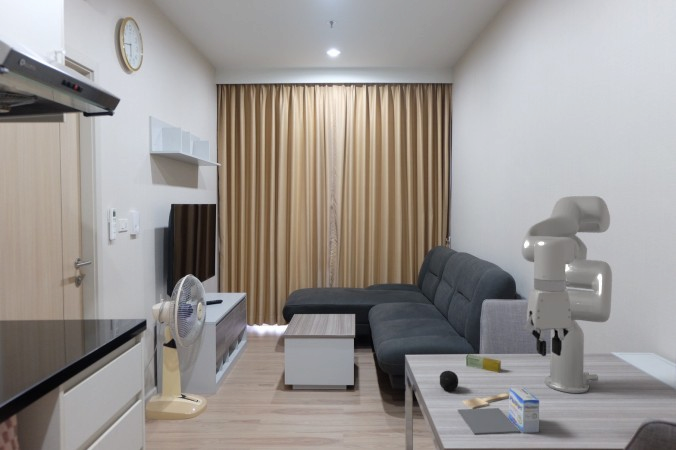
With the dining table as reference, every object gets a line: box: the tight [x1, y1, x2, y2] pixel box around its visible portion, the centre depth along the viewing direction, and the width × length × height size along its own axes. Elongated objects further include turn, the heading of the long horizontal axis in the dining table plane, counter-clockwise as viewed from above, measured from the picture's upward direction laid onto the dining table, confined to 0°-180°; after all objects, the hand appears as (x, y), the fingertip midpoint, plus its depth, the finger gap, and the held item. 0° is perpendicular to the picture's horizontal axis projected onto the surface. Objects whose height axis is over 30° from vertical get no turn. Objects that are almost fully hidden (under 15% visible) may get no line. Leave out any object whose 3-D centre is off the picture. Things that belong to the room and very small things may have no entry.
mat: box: [457, 407, 521, 435], centre depth 119 cm, size 12×13×1 cm
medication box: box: [465, 353, 502, 373], centre depth 158 cm, size 12×3×4 cm, turn 54°
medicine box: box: [508, 387, 540, 434], centre depth 116 cm, size 8×4×9 cm, turn 5°
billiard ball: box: [438, 370, 459, 392], centre depth 139 cm, size 6×6×6 cm
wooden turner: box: [462, 392, 509, 409], centre depth 131 cm, size 16×4×1 cm, turn 113°
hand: (548, 353), depth 116 cm, fingers open, 3 cm apart
